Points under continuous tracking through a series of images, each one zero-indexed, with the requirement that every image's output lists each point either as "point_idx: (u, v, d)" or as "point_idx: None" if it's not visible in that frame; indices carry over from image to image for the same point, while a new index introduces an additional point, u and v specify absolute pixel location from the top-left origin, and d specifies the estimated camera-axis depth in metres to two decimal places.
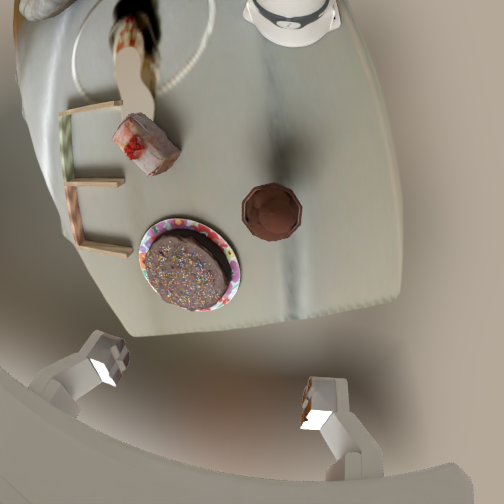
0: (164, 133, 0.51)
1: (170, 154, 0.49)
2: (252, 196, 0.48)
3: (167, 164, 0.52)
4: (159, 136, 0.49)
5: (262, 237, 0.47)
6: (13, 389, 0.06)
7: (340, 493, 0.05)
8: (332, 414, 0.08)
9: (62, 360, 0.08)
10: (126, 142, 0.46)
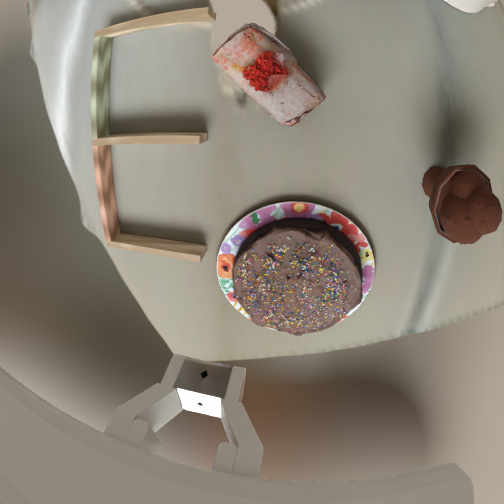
0: None
1: None
2: None
3: None
4: None
5: (463, 238, 0.25)
6: (13, 389, 0.06)
7: (340, 493, 0.05)
8: (220, 401, 0.08)
9: (142, 394, 0.08)
10: (246, 62, 0.24)
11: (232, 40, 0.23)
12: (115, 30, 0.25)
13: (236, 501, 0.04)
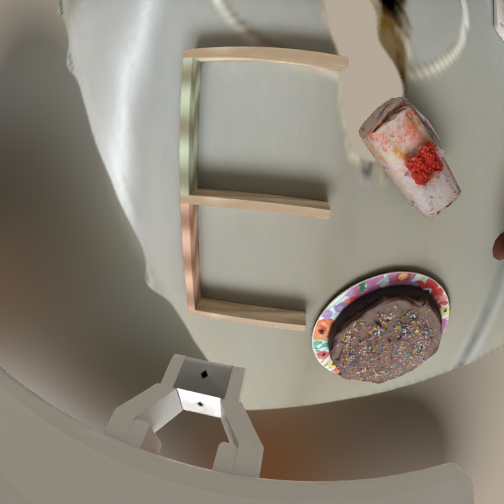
0: None
1: None
2: None
3: None
4: None
5: None
6: (13, 389, 0.06)
7: (340, 493, 0.05)
8: (220, 401, 0.08)
9: (143, 394, 0.08)
10: (407, 148, 0.23)
11: (396, 119, 0.22)
12: (217, 55, 0.25)
13: (236, 501, 0.04)
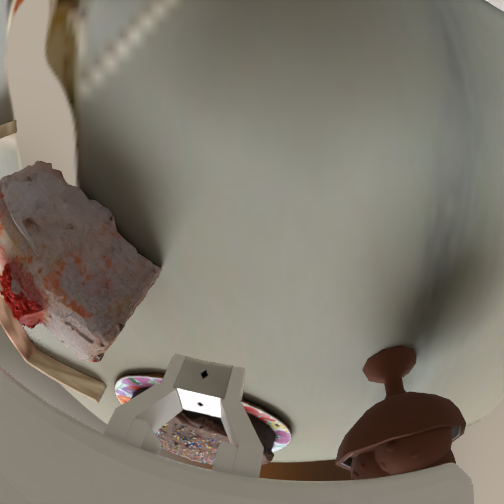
0: (106, 217, 0.17)
1: (124, 314, 0.15)
2: None
3: None
4: (85, 244, 0.15)
5: None
6: (13, 389, 0.06)
7: (340, 493, 0.05)
8: (220, 401, 0.08)
9: (143, 394, 0.08)
10: None
11: None
12: None
13: (236, 501, 0.04)
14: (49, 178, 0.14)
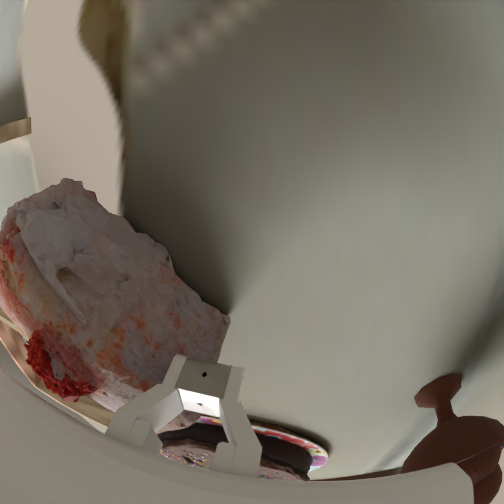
0: (163, 257, 0.15)
1: None
2: None
3: None
4: (145, 299, 0.12)
5: None
6: (13, 389, 0.06)
7: (340, 493, 0.05)
8: (219, 401, 0.08)
9: (144, 394, 0.08)
10: (27, 333, 0.09)
11: None
12: None
13: (236, 501, 0.04)
14: (84, 205, 0.11)
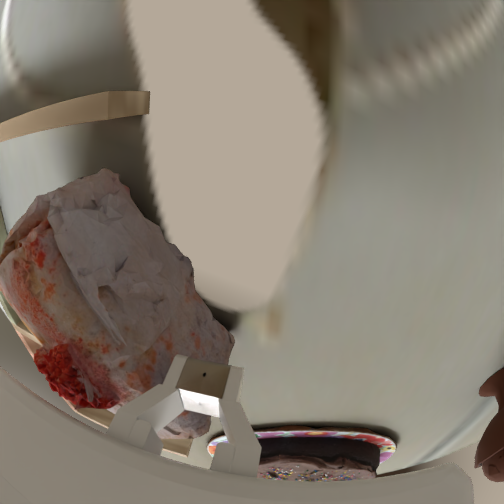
0: (188, 273, 0.15)
1: None
2: None
3: None
4: (174, 319, 0.12)
5: (496, 480, 0.09)
6: (13, 389, 0.06)
7: (340, 493, 0.05)
8: (218, 400, 0.08)
9: (144, 395, 0.08)
10: (38, 333, 0.09)
11: (0, 273, 0.07)
12: None
13: (236, 501, 0.04)
14: (124, 208, 0.11)
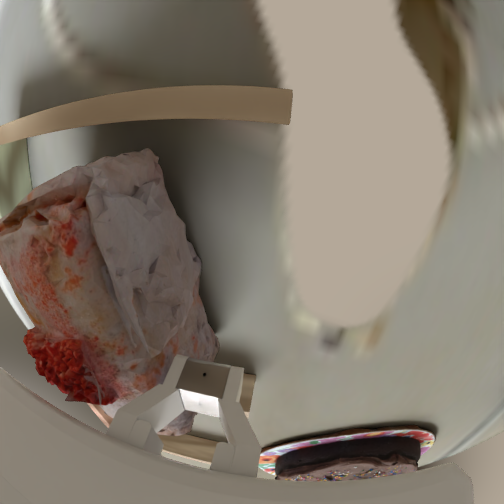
0: (197, 275, 0.15)
1: None
2: None
3: None
4: (182, 323, 0.12)
5: None
6: (13, 389, 0.06)
7: (340, 493, 0.05)
8: (218, 400, 0.08)
9: (145, 395, 0.08)
10: (36, 314, 0.08)
11: (7, 242, 0.06)
12: (11, 139, 0.09)
13: (236, 501, 0.04)
14: (162, 200, 0.11)
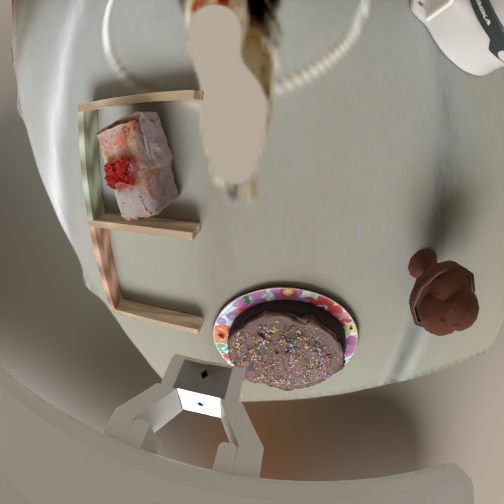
0: (171, 159, 0.35)
1: (165, 206, 0.33)
2: None
3: None
4: (162, 167, 0.32)
5: (437, 333, 0.28)
6: (13, 389, 0.06)
7: (340, 493, 0.05)
8: (220, 401, 0.08)
9: (142, 394, 0.08)
10: (113, 155, 0.28)
11: (112, 129, 0.27)
12: (98, 107, 0.29)
13: (236, 501, 0.04)
14: (159, 126, 0.31)
